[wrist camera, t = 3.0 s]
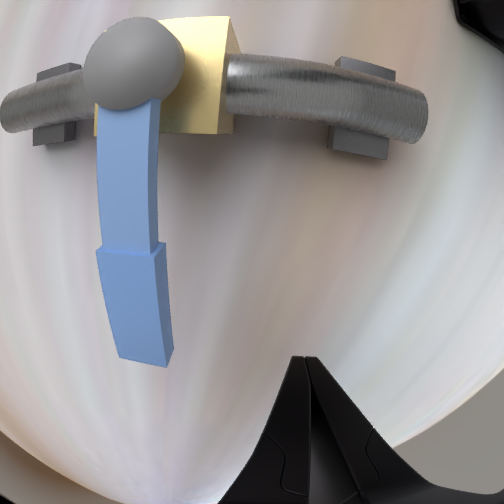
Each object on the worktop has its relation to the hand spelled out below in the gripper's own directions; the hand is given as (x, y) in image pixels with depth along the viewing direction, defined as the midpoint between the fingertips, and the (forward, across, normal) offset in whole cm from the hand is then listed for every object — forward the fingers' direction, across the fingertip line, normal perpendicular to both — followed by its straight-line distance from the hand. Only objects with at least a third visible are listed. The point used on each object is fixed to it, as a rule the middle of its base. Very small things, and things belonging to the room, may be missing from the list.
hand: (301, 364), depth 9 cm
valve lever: (+2, +6, -4) cm, 8 cm away
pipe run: (+9, +6, -9) cm, 14 cm away
